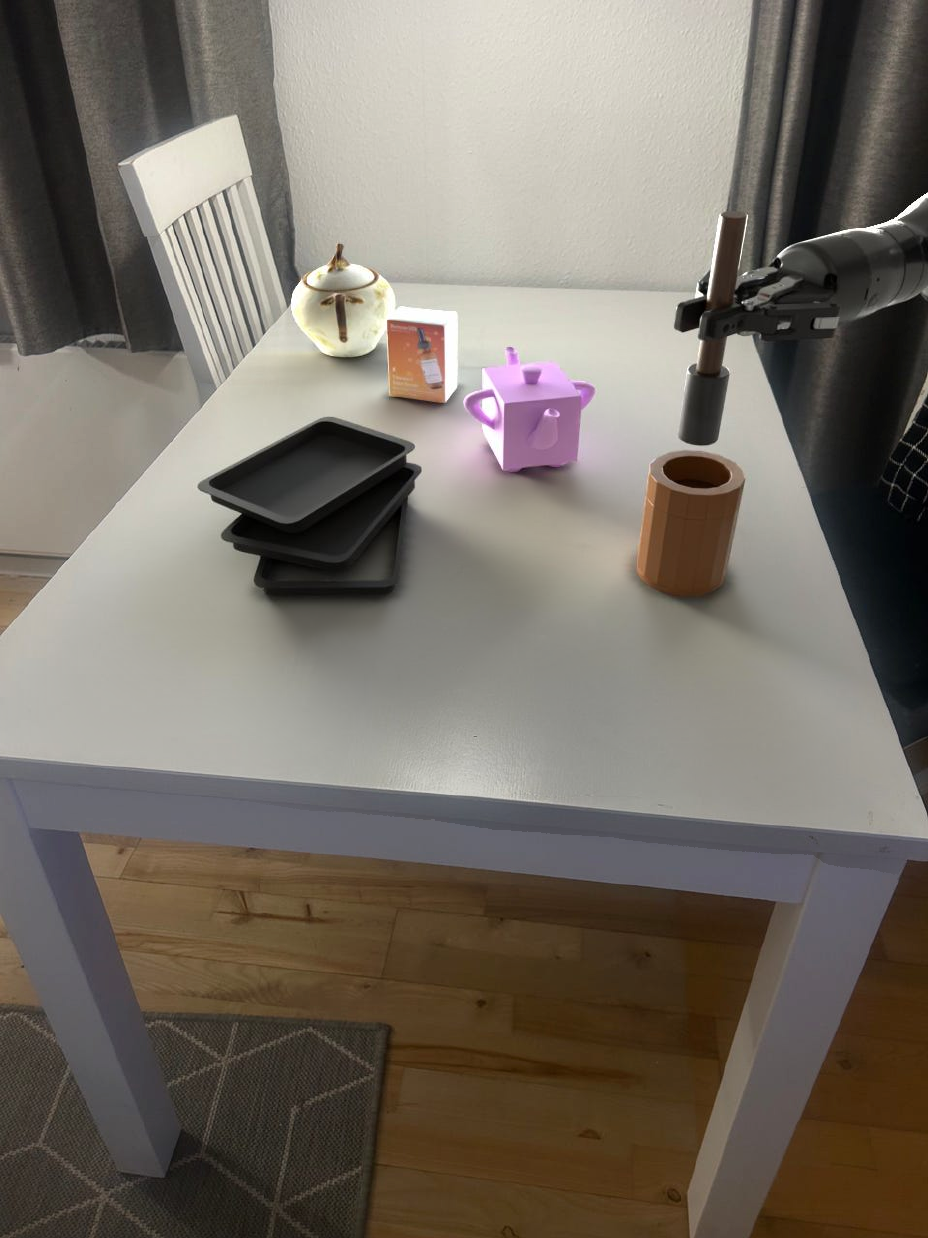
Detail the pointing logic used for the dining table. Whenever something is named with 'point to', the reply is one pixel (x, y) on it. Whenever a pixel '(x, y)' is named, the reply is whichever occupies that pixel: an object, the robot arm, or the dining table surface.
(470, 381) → the dining table surface
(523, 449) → the teapot
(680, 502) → the brown cylindrical holder
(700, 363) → the brush
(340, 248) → the sugar bowl
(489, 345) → the dining table surface
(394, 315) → the small box
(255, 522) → the tray
